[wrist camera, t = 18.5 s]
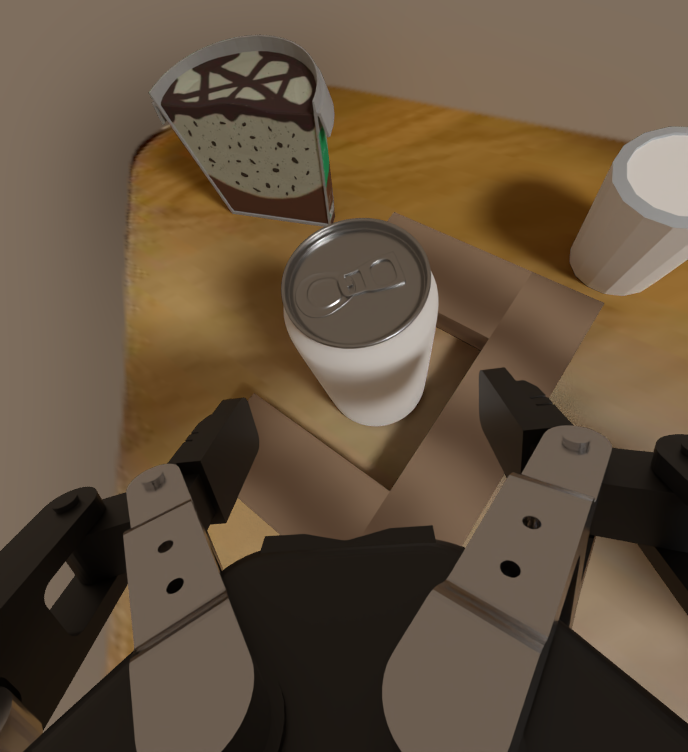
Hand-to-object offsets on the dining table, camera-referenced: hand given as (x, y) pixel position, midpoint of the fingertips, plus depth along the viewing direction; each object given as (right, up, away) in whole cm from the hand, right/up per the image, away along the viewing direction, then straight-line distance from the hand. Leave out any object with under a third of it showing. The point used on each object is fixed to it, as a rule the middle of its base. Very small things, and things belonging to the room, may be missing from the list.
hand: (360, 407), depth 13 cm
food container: (-5, +17, +19) cm, 26 cm away
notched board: (+3, 0, +11) cm, 12 cm away
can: (+2, +1, +12) cm, 12 cm away
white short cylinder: (+18, +9, +12) cm, 24 cm away
